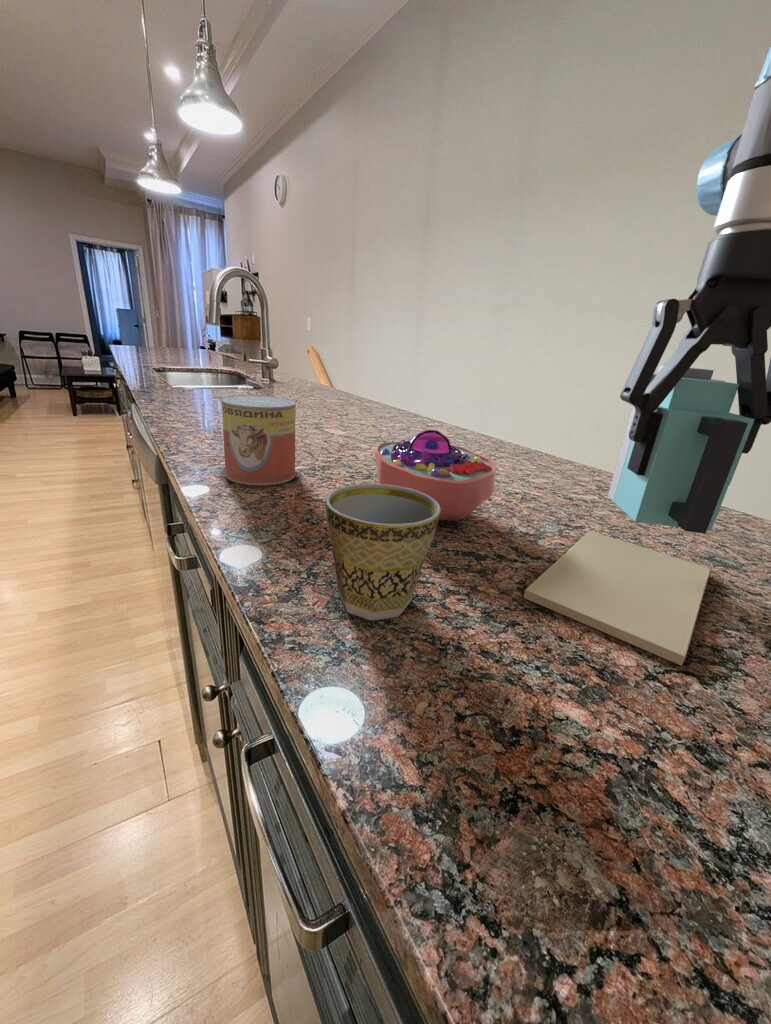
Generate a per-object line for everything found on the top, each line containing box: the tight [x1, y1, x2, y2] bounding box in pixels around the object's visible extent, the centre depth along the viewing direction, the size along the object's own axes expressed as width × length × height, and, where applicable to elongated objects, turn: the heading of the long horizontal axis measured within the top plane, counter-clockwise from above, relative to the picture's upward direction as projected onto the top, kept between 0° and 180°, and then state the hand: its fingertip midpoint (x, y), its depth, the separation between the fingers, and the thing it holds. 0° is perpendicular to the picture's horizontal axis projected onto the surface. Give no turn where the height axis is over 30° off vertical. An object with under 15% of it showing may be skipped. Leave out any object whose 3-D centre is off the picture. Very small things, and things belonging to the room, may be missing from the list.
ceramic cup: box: [324, 483, 441, 622], centre depth 42 cm, size 13×10×10 cm
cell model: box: [373, 429, 497, 522], centre depth 62 cm, size 17×20×11 cm
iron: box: [607, 364, 754, 534], centre depth 47 cm, size 16×8×12 cm
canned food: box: [220, 394, 297, 486], centre depth 72 cm, size 11×11×12 cm
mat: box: [523, 530, 711, 666], centre depth 49 cm, size 22×14×1 cm, turn 141°
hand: (676, 476), depth 49 cm, fingers closed on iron, 8 cm apart
